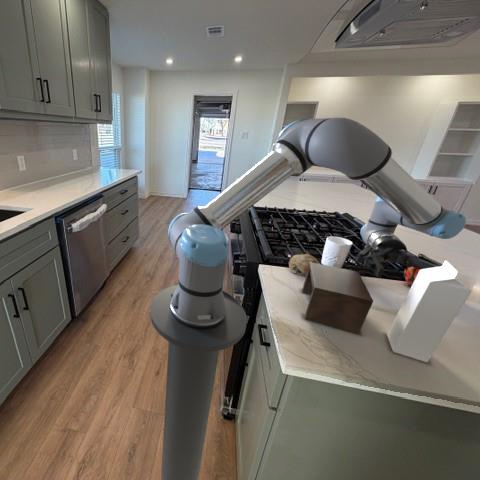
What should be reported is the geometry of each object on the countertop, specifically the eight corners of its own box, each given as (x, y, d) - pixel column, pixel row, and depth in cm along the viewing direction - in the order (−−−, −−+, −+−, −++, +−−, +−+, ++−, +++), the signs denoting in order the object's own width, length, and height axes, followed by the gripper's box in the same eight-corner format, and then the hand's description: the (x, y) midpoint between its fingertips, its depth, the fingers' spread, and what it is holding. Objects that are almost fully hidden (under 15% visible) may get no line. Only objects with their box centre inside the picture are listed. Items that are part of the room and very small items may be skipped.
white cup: (332, 259, 100) (339, 235, 96) (348, 269, 93) (358, 244, 89) (314, 260, 99) (321, 236, 95) (330, 270, 92) (338, 245, 88)
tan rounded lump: (283, 276, 94) (283, 261, 89) (296, 258, 98) (297, 243, 93) (312, 287, 88) (314, 272, 82) (324, 268, 92) (327, 252, 87)
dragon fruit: (429, 287, 86) (406, 298, 83) (409, 265, 90) (387, 275, 86) (457, 278, 79) (433, 290, 75) (435, 255, 82) (411, 265, 79)
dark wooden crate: (304, 319, 67) (314, 287, 63) (301, 290, 80) (310, 262, 76) (358, 334, 63) (373, 301, 59) (346, 300, 75) (358, 271, 71)
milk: (392, 351, 58) (436, 267, 49) (386, 335, 63) (425, 255, 54) (428, 363, 55) (481, 276, 46) (419, 344, 60) (465, 263, 51)
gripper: (433, 266, 75) (478, 307, 57) (335, 249, 85) (348, 280, 67) (445, 243, 72) (497, 279, 54) (342, 228, 82) (358, 254, 64)
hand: (415, 279), depth 61 cm, fingers open, 13 cm apart
